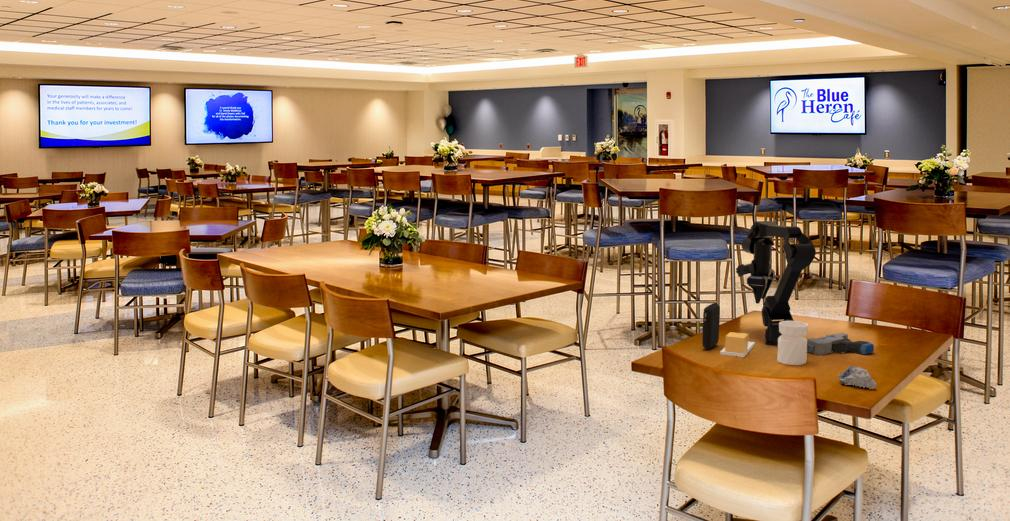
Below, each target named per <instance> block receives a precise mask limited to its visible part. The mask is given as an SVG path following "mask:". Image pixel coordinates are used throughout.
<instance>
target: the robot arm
mask: <svg viewBox="0 0 1010 521" xmlns="http://www.w3.org/2000/svg"><path fill="white" fill-rule="evenodd" d="M774 237H775V238H782V239H783V240H784V241H783V246H782V249H783V251H784V253H785V256H784V258H785V260H786V266H785V269H784V271H783V273H782V275H781V278H780V281H779V283H778V285H777V286H776V290H775V292H774V294H773V295H767V294H768V292H769V290H770V288H771V286H772V283H773V281H774V280H775V279H774V278H775V277H776V271H775V270H774V269H772V268H771V263H773V261H772V260H773V259H772V246H775V243H774V241H772V239H771V238H774ZM791 239H792V240H795V239H796V242H798V243H791V242H790V241H789V240H791ZM740 247H741V249H742V251H743V252H745V253H747V254H751V255H753V259H752V260H751V262H750V263H747V264H744V263H742V264H738V265H737V267H736V268H735V272H736V274H737V276H738V277H739V278H741V277H742V276H744V275H748V274H750V276H748V277H747V278H746V284H747V285H748V287H750V288H751V289H752V292H753V296H754V300H755V304H757V305H758V304H760V302H761V300H765V301H764V302H763V303H762V308H761V319H762V324H763V326H764V327H766V329H765V333H764V334H765V335H764V336H765V337H764V338H765V339H764V341H765V345H770V346H773V345H774V346H778V338H779V337H780V336H781V335H782V334H781V333H780V332H779V322H781V321H795V320H794V318H793V315H792V313H791V307H790V304H789V301H790V299H791V297H792V295H793V292H794V290H795V287H796V285H797V283H798V281H799V279H800V276H801V274H802V271H803V270H804V269H806V268H807V267H809V266H811V264H812V262H813V261H814V260H815V257H816V254H817V251H816V248H815V246H814V244H813V242H812V240H811V238H809V237H808V236H807V235H806V234H804V233H803V231H802V229H801V228H800V227H799V226H795V225H794V226H791V225H789V226H788V225H778V224H777V223H776V222H774V221H773V220H755V221H754V222H753V223H752V225H751V227H750V229H749V231H748V233H747V234H746V237H745V238H744V239H743V240H742V242H741V246H740Z"/></svg>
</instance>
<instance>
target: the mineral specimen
mask: <svg viewBox="0 0 1010 521" xmlns="http://www.w3.org/2000/svg"><path fill="white" fill-rule="evenodd" d="M838 378H839V379H838V380H839V381H840V383H841V385H842V384H846V385H853V386H852V387H858V386H859V387H858V388H861V387H863V388H862V389H864V388H865V387H866V388H867V389H868V388H872V390H874V389H875V388H876V387H877V383H876V381H875V380H874V379H873V378H872V376H871V374H870V373H869V371H868V370H867V369H864V368H862V367H861V366H851V365H849V366H847V368H846V369H845V371H841V372H840V373H839V374H838ZM846 385H845V386H846ZM854 385H855V386H854Z"/></svg>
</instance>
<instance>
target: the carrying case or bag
mask: <svg viewBox="0 0 1010 521" xmlns="http://www.w3.org/2000/svg"><path fill="white" fill-rule="evenodd" d="M720 312H721V310H720V305H719V304H718V303H717V302H713V303H711V304H709V305H706V307H704V309H703V312H702V314H703V315H702V338H701V339H702V347H703V348H704V350H709V349H711V348H713V347H714V346H716V345H717V344H718V343H719V338H720V318H721V316H720V315H721V313H720Z"/></svg>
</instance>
